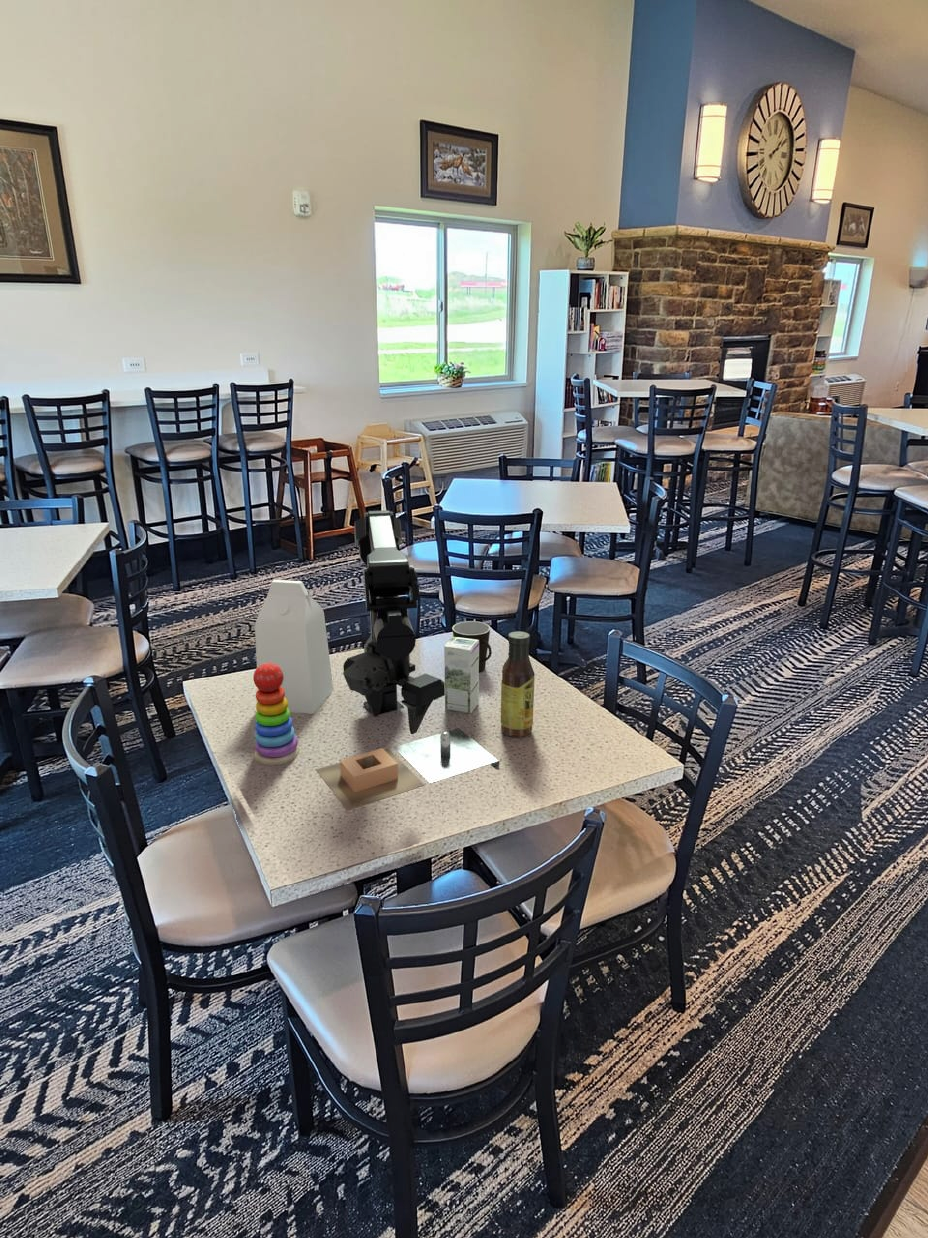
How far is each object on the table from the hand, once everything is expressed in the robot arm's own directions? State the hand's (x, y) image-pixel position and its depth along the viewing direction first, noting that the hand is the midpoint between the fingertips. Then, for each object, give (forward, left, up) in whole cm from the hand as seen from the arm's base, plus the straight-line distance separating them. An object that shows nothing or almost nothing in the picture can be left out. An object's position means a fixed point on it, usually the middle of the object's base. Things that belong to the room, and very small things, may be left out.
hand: (394, 724), depth 125 cm
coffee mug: (-33, +35, -12) cm, 49 cm away
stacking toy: (-19, -15, -12) cm, 27 cm away
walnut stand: (-3, -4, -11) cm, 12 cm away
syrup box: (-19, +24, -12) cm, 33 cm away
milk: (-40, -4, -12) cm, 42 cm away
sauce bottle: (-5, +28, -12) cm, 31 cm away
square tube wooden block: (-3, -4, -10) cm, 11 cm away
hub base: (-3, +11, -11) cm, 16 cm away
